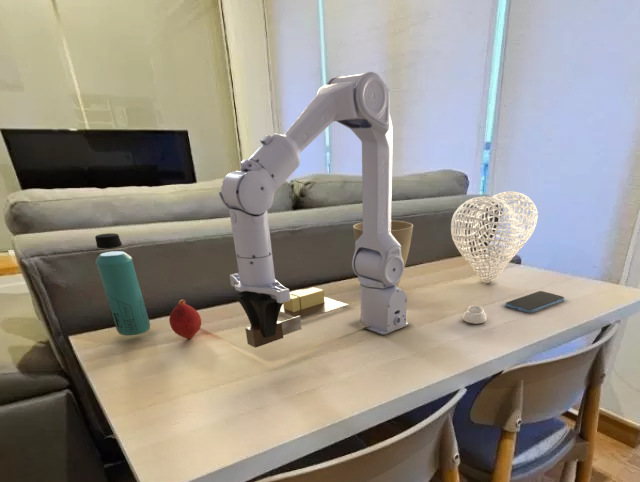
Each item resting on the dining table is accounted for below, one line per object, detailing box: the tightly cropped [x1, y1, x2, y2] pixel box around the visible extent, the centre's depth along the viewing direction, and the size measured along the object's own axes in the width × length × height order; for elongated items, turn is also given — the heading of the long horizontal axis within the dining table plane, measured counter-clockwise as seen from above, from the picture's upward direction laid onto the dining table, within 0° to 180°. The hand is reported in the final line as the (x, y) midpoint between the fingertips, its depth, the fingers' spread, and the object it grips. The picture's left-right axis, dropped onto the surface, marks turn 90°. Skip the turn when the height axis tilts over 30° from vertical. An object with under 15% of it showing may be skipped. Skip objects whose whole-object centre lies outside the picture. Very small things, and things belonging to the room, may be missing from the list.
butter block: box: [291, 286, 325, 310], centre depth 107 cm, size 4×7×3 cm, turn 136°
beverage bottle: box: [94, 232, 152, 336], centre depth 89 cm, size 6×7×20 cm
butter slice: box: [283, 294, 300, 312], centre depth 104 cm, size 4×2×3 cm, turn 46°
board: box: [279, 289, 350, 321], centre depth 109 cm, size 18×14×1 cm
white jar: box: [462, 305, 488, 325], centre depth 100 cm, size 5×3×5 cm
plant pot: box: [352, 220, 414, 288], centre depth 118 cm, size 15×15×16 cm
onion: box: [168, 299, 202, 340], centre depth 91 cm, size 6×6×8 cm
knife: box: [245, 316, 303, 349], centre depth 83 cm, size 11×2×3 cm, turn 136°
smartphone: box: [504, 290, 565, 314], centre depth 110 cm, size 7×1×15 cm
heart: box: [450, 190, 539, 284], centre depth 121 cm, size 28×16×22 cm, turn 139°
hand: (264, 333), depth 81 cm, fingers closed on knife, 2 cm apart
